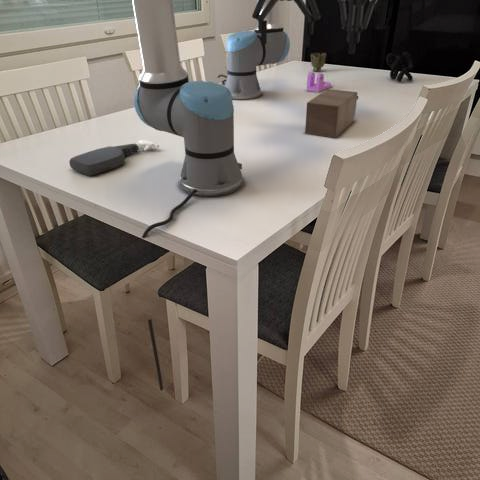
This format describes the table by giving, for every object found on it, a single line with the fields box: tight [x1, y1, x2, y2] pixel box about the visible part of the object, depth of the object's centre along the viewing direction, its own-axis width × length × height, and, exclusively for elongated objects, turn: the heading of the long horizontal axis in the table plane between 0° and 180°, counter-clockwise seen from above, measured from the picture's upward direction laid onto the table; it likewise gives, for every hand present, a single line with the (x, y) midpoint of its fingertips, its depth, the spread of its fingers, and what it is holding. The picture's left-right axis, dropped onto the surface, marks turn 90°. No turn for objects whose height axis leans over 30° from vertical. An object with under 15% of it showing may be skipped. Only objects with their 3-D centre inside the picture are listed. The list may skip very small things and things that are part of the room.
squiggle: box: [385, 51, 414, 83], centre depth 198 cm, size 11×10×15 cm
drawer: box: [354, 92, 359, 117], centre depth 148 cm, size 24×9×8 cm, turn 151°
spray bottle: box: [68, 139, 160, 177], centre depth 124 cm, size 3×11×24 cm
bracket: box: [306, 71, 332, 93], centre depth 188 cm, size 13×6×7 cm, turn 143°
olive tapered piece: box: [310, 52, 327, 72], centre depth 217 cm, size 8×7×8 cm
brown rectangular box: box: [304, 88, 358, 139], centre depth 143 cm, size 19×10×10 cm, turn 151°
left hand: (284, 45), depth 134 cm, fingers open, 13 cm apart
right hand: (351, 53), depth 147 cm, fingers closed
